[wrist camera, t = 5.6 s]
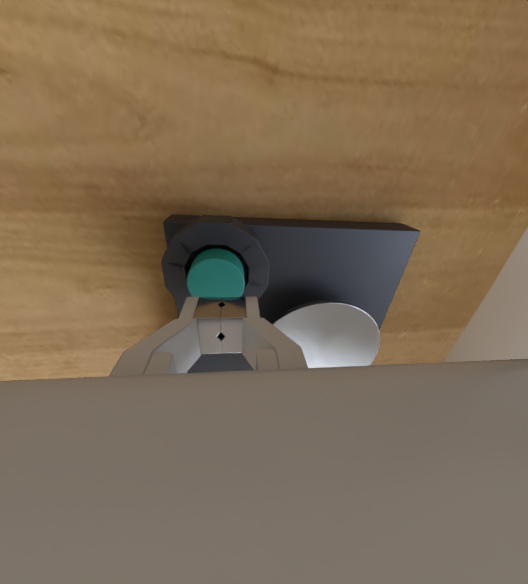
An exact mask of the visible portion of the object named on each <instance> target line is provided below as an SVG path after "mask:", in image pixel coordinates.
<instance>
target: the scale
mask: <svg viewBox="0 0 528 584" xmlns="http://www.w3.org/2000/svg"><path fill="white" fill-rule="evenodd" d="M163 225H164V231H165V237H166V243H167V250H166V252H165V254H164V256H163V258H162V262H161V263H162V269H163V274H164V280H165V286H166V288H167V289H168V290H169V291H170V292H171V294H172V295H173V296H174V297H175V300H176V306H177V312H178V318H179V316H180V313H181V310H182V308H183V305H184V302H185V299H186V298H187V297H192V295H191V294H190V292H189V290H188V287H187V276H188V273H189V270H190V268H191V265H192V263H193V261H194V259H195V258H196V257H197V255H199V254H200V253H201V252H203V251H205V250H208V249H212V248H221V249H225V250H228V251H230V252H232V253H233V254H235V255H236V256H237V257H238V258H239V260H240V261H241V263H242V265H243V269H244V279H245V288H244V291H243V294H242V295H241V297H251V296H257V299H258V306H259V312H260V318H265V319H266V320H267V321H268V322H271V321H273V320H274V319H275V318H276V317H278V316H279V315H281V314H282V313H284V312H286V311H287V310H289V309H291V308H294V307H296V306H299V305H301V304H305V303H308V302H313V301H318V300H340V301H346V302H349V303H352V304H355V305H357V306H359V307H361V308H362V309H364V310H365V311H366V312H367V313H368V314H369V315H370V316H371V317H372V318H373V319H374V321H375V322H376V324H377V326H378V329H379V330H380V327H381V325H382V323H383V320H384V318H385V315H386V313H387V311H388V308H389V306H390V303H391V301H392V299H393V296H394V294H395V291H396V289H397V287H398V284H399V282H400V279H401V277H402V275H403V272H404V270H405V267H406V265H407V263H408V260H409V258H410V255H411V253H412V250H413V248H414V246H415V243H416V241H417V238H418V236H419V234H420V230H417V229H414V228H412V227H409V226H407V225H404V224H395V223H369V222H344V221H319V220H294V219H268V218H243V217H231V216H213V215H203V216H192V215H170V216H169V217H168V218H167V219H166V220H165V221H164V222H163ZM251 370H254V369H253V368H252V366H251V365H250V364H249V362H248V361H247V360H246V358H245V357H244V356H243V354H242V353H218V354H201V356H200V357H199V358H198V360H197V361H196V362H195V363H194V364H193V365H192V367H191V368H190V369H189V370H188V371H187V373H203V372H227V371H251Z"/></svg>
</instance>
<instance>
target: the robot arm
mask: <svg viewBox="0 0 528 584" xmlns="http://www.w3.org/2000/svg"><path fill="white" fill-rule="evenodd" d="M218 353H242V354H243V356H244V357H245V358H246V360H247V361H248V362H249V364H250V365H251V366H252V368H253V369H254V370H251V371H227V372H203V373H186V372H187V371H188V370H189V369H190V368H191V367H192V365H193V364H194V363H195V362H196V361H197V360H198V358H199V357H200V356H201V354H218ZM0 584H528V359H513V360H512V359H511V360H490V361H467V362H442V363H418V364H394V365H370V366H346V367H322V368H308V366H307V363H306V360H305V357H304V354H303V351H302V348H301V347H300V346H299V345H298V344H296V343H295V342H294V341H293V340H291V339H290V338H289V337H288V336H286V335H285V334H284V333H282V332H281V331H280V330H279V329H277V328H276V327H275V326H274V325H272V324H271V323H270V322H268V321H267V320H266V319H265V318H260V312H259V306H258V299H257V296H251V297H187V298H186V299H185V302H184V305H183V308H182V310H181V313H180V316H179V318H178V319H174V320H172V321H171V322H169V323H168V324H166V325H165V326H163V327H161V328H160V329H158V330H157V331H155V332H154V333H152V334H151V335H149V336H147V337H146V338H144V339H143V340H141V341H140V342H138V343H137V344H135V345H134V346H132V347H130V348H129V349H127V350H126V351H124V352H123V353H122V355H121V357H120V358H119V360H118V362H117V363H116V365H115V367H114V368H113V370H112V372H111V373H110V375H109V376H107V377H83V378H59V379H35V380H11V381H0Z"/></svg>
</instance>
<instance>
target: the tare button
mask: <svg viewBox="0 0 528 584" xmlns="http://www.w3.org/2000/svg"><path fill="white" fill-rule="evenodd" d="M187 287H188V290H189V292H190V294H191V295H192V297H241V295H242V294H243V291H244V288H245V279H244V269H243V265H242V263H241V261H240V260H239V258H238V257H237V256H236V255H235V254H233V253H232V252H230V251H228V250H225V249H221V248H212V249H208V250H205V251H203V252H201V253H200V254H199V255H197V257H196V258H195V259H194V261H193V263H192V265H191V268H190V270H189V273H188V276H187Z"/></svg>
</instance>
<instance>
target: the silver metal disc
mask: <svg viewBox="0 0 528 584" xmlns="http://www.w3.org/2000/svg"><path fill="white" fill-rule="evenodd" d="M270 323H271V324H272V325H274V326H275V327H276V328H277V329H279V330H280V331H281V332H282V333H284V334H285V335H286V336H288V337H289V338H290V339H291V340H293V341H294V342H295V343H296V344H298V345H299V346H300V347H301V348H302V351H303V354H304V357H305V360H306V363H307V366H308V368H322V367H346V366H370V365H371V363H372V362H373V360H374V359H375V357H376V355H377V352H378V350H379V345H380V332H379V329H378V326H377V324H376V322H375V321H374V319H373V318H372V317H371V316H370V315H369V314H368V313H367V312H366V311H365V310H364V309H362V308H361V307H359V306H357V305H355V304H352V303H349V302H346V301H340V300H318V301H313V302H308V303H305V304H301V305H299V306H296V307H294V308H291V309H289V310H287V311H286V312H284V313H282V314H281V315H279V316H278V317H276V318H275V319H274V320H273V321H271V322H270Z"/></svg>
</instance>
